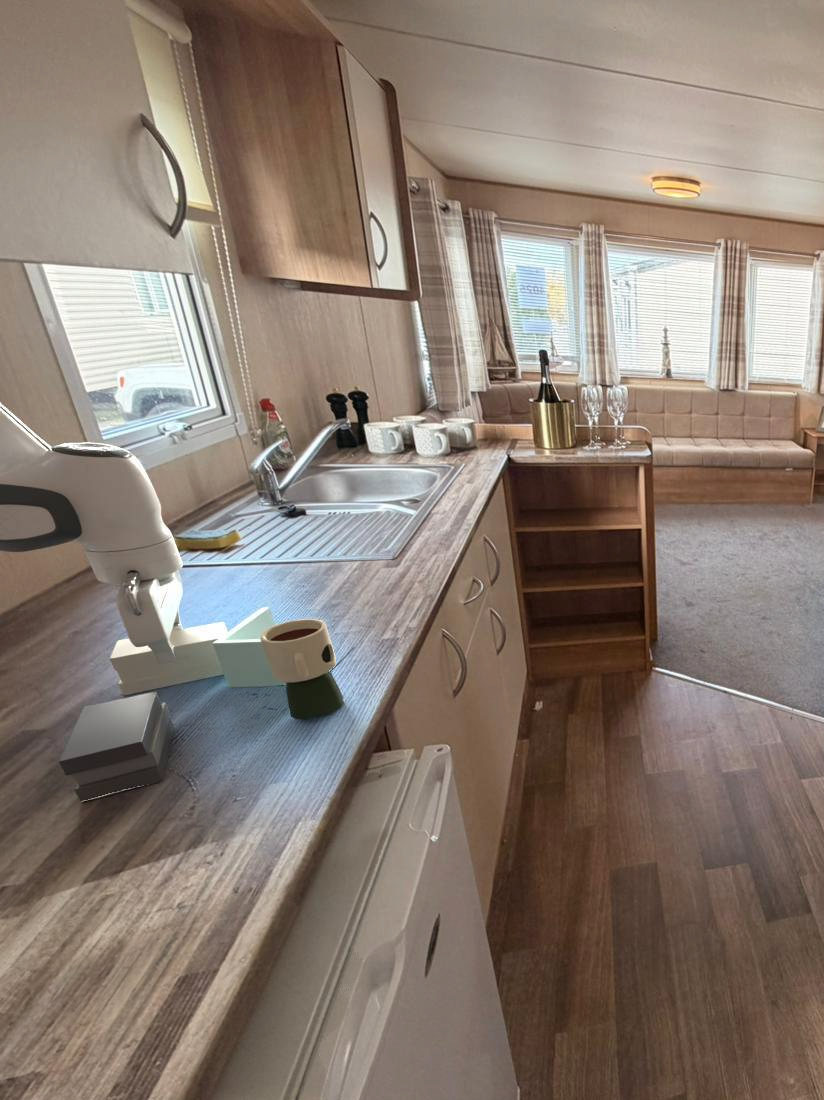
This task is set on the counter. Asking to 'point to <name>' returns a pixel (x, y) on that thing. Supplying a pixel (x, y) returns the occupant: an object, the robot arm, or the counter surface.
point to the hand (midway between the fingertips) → (172, 646)
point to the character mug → (304, 666)
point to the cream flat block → (181, 640)
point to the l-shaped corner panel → (246, 652)
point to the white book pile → (169, 673)
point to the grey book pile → (119, 745)
